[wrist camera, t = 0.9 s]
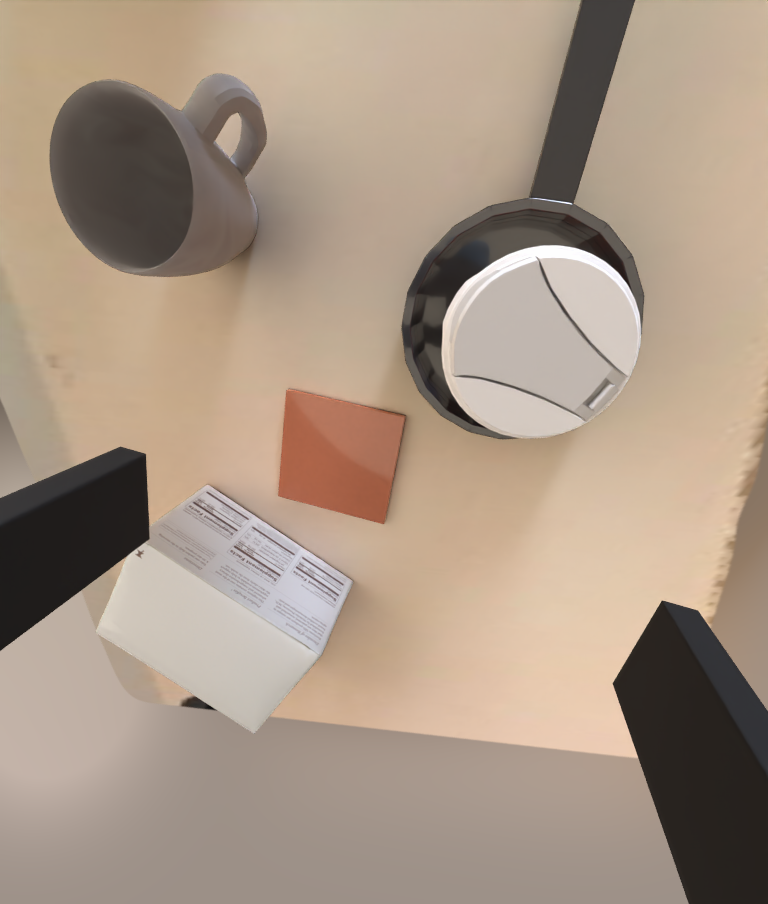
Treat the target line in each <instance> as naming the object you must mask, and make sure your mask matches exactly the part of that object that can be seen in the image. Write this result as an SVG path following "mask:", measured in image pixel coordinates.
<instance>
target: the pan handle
mask: <svg viewBox="0 0 768 904" xmlns="http://www.w3.org/2000/svg"><path fill="white" fill-rule="evenodd" d="M634 2H635V0H581V3H580V7H579V11H578V14H577V18H576V22H575V26H574V29H573V33H572V37H571V41H570V45H569V48H568V52H567V56H566V60H565V63H564V67H563V71H562V75H561V79H560V82H559V86H558V90H557V94H556V98H555V101H554V105H553V109H552V113H551V116H550V120H549V124H548V128H547V132H546V135H545V139H544V143H543V147H542V150H541V154H540V158H539V162H538V166H537V169H536V173H535V177H534V181H533V184H532V188H531V192H530V196H529V198H540V199H547V200H553V201H560V202H567V203H572V204H573V203H574V200H575V197H576V194H577V190H578V187H579V184H580V180H581V177H582V174H583V170H584V167H585V164H586V160H587V157H588V154H589V151H590V147H591V144H592V141H593V137H594V134H595V131H596V127H597V124H598V121H599V117H600V114H601V111H602V108H603V104H604V101H605V98H606V94H607V91H608V88H609V84H610V81H611V78H612V74H613V71H614V68H615V65H616V61H617V58H618V55H619V51H620V48H621V45H622V41H623V38H624V35H625V31H626V28H627V25H628V22H629V18H630V15H631V12H632V8H633V5H634Z"/></svg>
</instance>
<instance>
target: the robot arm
mask: <svg viewBox="0 0 768 904" xmlns="http://www.w3.org/2000/svg"><path fill="white" fill-rule="evenodd" d="M149 539H150V535H149V513H148V491H147V470H146V454H144V453H141V452H137V451H134V450H130V449H126V448H123V447H119V448H116V449H114V450H112V451H109V452H107V453H105V454H102V455H100V456H98V457H95V458H93V459H91V460H88V461H86V462H84V463H81V464H79V465H77V466H74V467H72V468H70V469H67V470H65V471H63V472H60V473H58V474H56V475H53V476H51V477H49V478H46V479H44V480H42V481H39V482H37V483H35V484H32V485H30V486H28V487H25V488H23V489H21V490H18V491H16V492H14V493H11V494H9V495H7V496H4V497H2V498H0V651H1V650H2V649H3V648H4V647H6V646H7V645H8V644H10V643H11V642H13V641H14V640H15V639H17V638H18V637H19V636H20V635H22V634H23V633H24V632H26V631H27V630H28V629H30V628H31V627H33V626H34V625H35V624H36V623H38V622H39V621H41V620H42V619H43V618H45V617H46V616H47V615H49V614H50V613H51V612H53V611H54V610H55V609H57V608H58V607H59V606H61V605H62V604H63V603H65V602H66V601H67V600H69V599H70V598H71V597H73V596H74V595H75V594H77V593H78V592H79V591H81V590H82V589H84V588H85V587H86V586H88V585H89V584H90V583H92V582H93V581H94V580H96V579H97V578H98V577H100V576H101V575H102V574H104V573H105V572H106V571H108V570H109V569H110V568H112V567H113V566H114V565H116V564H117V563H118V562H120V561H121V560H122V559H124V558H125V557H126V556H128V555H129V554H130V553H132V552H133V551H134V550H136V549H137V548H138V547H140V546H141V545H142V544H144V543H145V542H146V541H148V540H149ZM613 686H614V689H615V691H616V694H617V697H618V700H619V703H620V706H621V709H622V712H623V715H624V717H625V720H626V723H627V726H628V729H629V732H630V735H631V738H632V741H633V744H634V746H635V749H636V752H637V755H638V758H639V761H640V764H641V767H642V769H643V772H644V775H645V778H646V781H647V784H648V787H649V790H650V793H651V795H652V798H653V801H654V804H655V807H656V810H657V813H658V816H659V819H660V822H661V824H662V827H663V830H664V833H665V836H666V839H667V842H668V845H669V848H670V850H671V853H672V856H673V859H674V862H675V865H676V868H677V871H678V874H679V877H680V879H681V882H682V885H683V888H684V891H685V894H686V897H687V900H688V902H689V904H768V711H767V710H766V708H765V707H764V705H763V704H762V702H761V701H760V699H759V698H758V697H757V695H756V694H755V692H754V691H753V689H752V688H751V687H750V685H749V684H748V682H747V681H746V679H745V678H744V676H743V675H742V674H741V672H740V671H739V669H738V668H737V666H736V665H735V663H734V662H733V661H732V659H731V658H730V656H729V655H728V653H727V652H726V650H725V649H724V648H723V646H722V645H721V643H720V642H719V640H718V639H717V637H716V636H715V635H714V633H713V632H712V630H711V629H710V627H709V626H708V624H707V623H706V622H705V620H704V619H703V617H702V616H701V614H700V613H699V612H698V610H694V609H690V608H687V607H683V606H680V605H676V604H673V603H669V602H666V601H661V603H660V605H659V607H658V608H657V610H656V612H655V613H654V615H653V617H652V618H651V620H650V622H649V623H648V625H647V627H646V628H645V630H644V632H643V633H642V635H641V637H640V639H639V640H638V642H637V644H636V645H635V647H634V649H633V650H632V652H631V654H630V655H629V657H628V659H627V660H626V662H625V664H624V665H623V667H622V669H621V670H620V672H619V674H618V676H617V677H616V679H615V681H614V682H613Z"/></svg>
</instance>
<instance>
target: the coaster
mask: <svg viewBox="0 0 768 904" xmlns="http://www.w3.org/2000/svg"><path fill="white" fill-rule="evenodd" d="M405 419H406V416H405V415H401V414H396V413H392V412H388V411H383V410H379V409H375V408H370V407H366V406H361V405H357V404H353V403H348V402H344V401H340V400H335V399H331V398H326V397H322V396H318V395H313V394H309V393H304V392H300V391H296V390H291V389H288V390H286V403H285V416H284V428H283V441H282V454H281V467H280V479H279V492H278V496H280V497H284V498H287V499H291V500H295V501H299V502H302V503H306V504H310V505H314V506H318V507H321V508H325V509H329V510H333V511H336V512H340V513H344V514H348V515H351V516H355V517H359V518H363V519H366V520H370V521H374V522H378V523H381V524H384V523H385V519H386V514H387V509H388V504H389V499H390V494H391V489H392V484H393V479H394V474H395V469H396V464H397V459H398V454H399V449H400V444H401V439H402V434H403V429H404V424H405Z"/></svg>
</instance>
